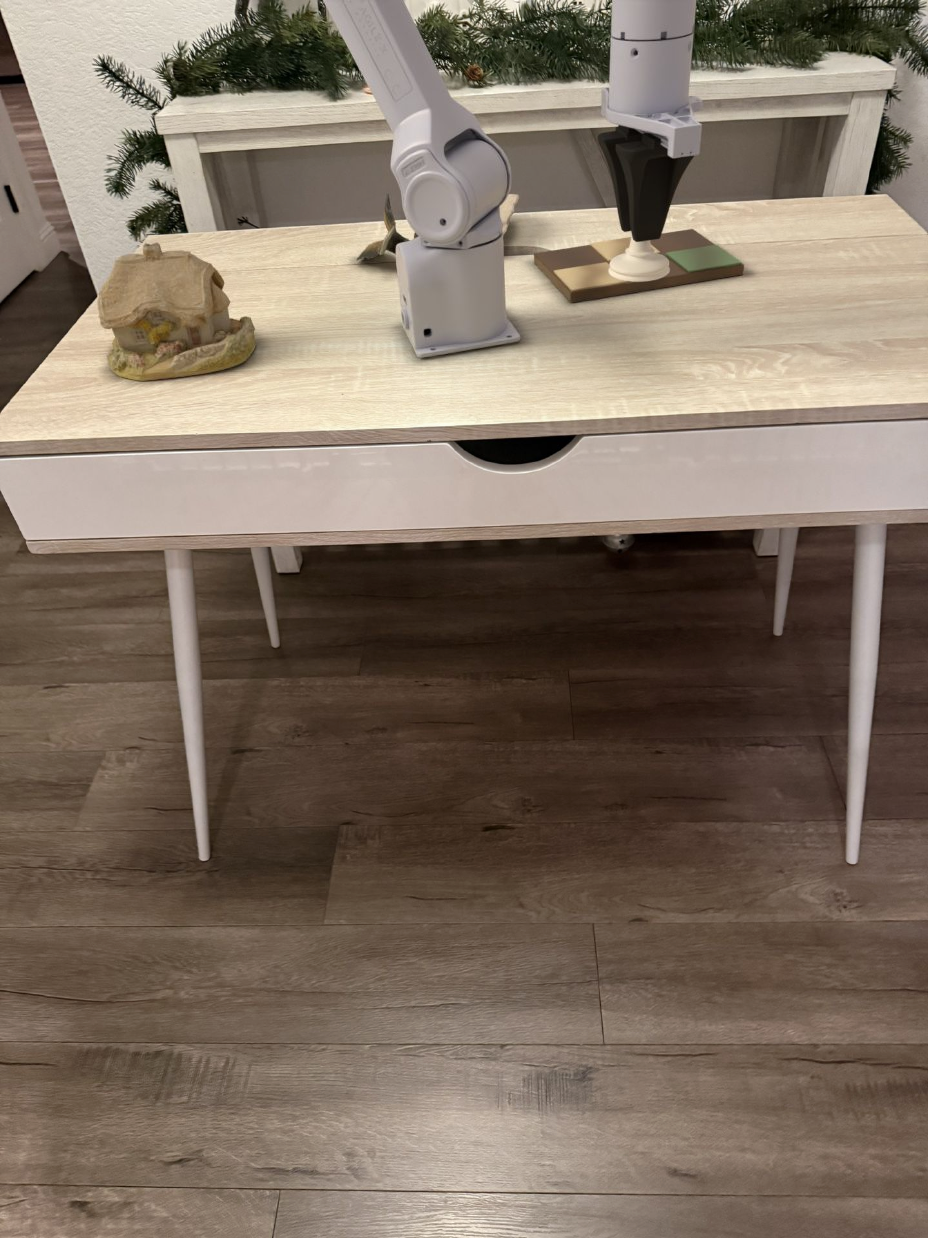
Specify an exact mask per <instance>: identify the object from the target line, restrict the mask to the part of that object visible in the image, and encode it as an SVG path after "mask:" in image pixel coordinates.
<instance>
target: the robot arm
mask: <svg viewBox="0 0 928 1238" xmlns="http://www.w3.org/2000/svg"><path fill="white" fill-rule="evenodd" d="M322 1H323V3H324V5H325V7H326V9H327V11H328V13H329V15H330V17H331V18H332V20H333V22H334V25H335V26H336V27H337V30H338V32H339V33H340V36H341V38H342V39H343V41H344V43H345V45H346V46H347V49H348V51H349V53H350V54H351V56H352V58H353V60H354V62H355V65H356V66H357V67H358V69H359V71H360V73H361V75H362V77H363V79H364V81H365V83H366V84H367V86H368V89H369V90H370V92H371V94H372V96H373V98H374V100H375V102H376V104H377V106H378V108H379V109H380V112H381V113H382V115H383V117H384V119H385V121H386V123H387V124H388V126H389V129H390V130H391V132H392V135H393V138H392V139H393V141H392V149H391V157H390V171H391V172H392V174H393V176H394V178H395V180H396V182H397V184H398V187H399V190H400V196H401V205H402V210H403V214H404V216H405V219H406V221H407V223H408V225H409V227H410V228H411V229H412V231H413V232H414V233H416V234H417V235H418V237H417V238H415V239H414V238H412V239H409V240H410V241H407V242H402V243H399V244H397V245H396V255H395V265H396V275H397V284H398V291H399V292H398V293H399V300H400V315H401V325H402V326H401V327H402V328H403V330H404V333H405V335H406V336H407V338H408V340H409V343H410V345H411V347H412V349H413V351H414V352H415V354H416V357H417V358H430V357H434V356H441V355H446V354H452V353H459V352H464V351H465V352H466V351H470V350H475V349H481V348H489V347H494V346H495V347H496V346H500V345H506V344H511V343H517V342H518V343H519V341H521V335H520V333H519V332H518V330H517V329H516V327H514V325H513V324H512V322H511V321H510V320H509V318H508V317H507V303H506V302H507V301H506V300H507V299H506V277H505V250H504V236H503V224H502V220H501V218H500V206H501V205H502V204H503V203H504V201H505V200H506V198H507V197H508V194H510V191H511V189H512V184H513V183H512V182H513V173H512V167H511V164H510V160H509V158H508V156H507V154H506V153H505V152H504V150H503V148H501V146H500V145H499V144H498V143H496V142H495V141H494V140H493V139H492V138H491V137H489V136H488V135H487V134H486V133H485V131H484V130H483V128H482V127H481V125H480V123H479V121H478V119H477V117H476V115H475V114H474V113H473V112H471V111H470V110H469V109H468V108H466V107H464V106H463V105H462V104H460V103H459V102H458V101H456V100H455V99H454V98H453V97H452V96H451V94H450V92H449V90H448V88H447V86H446V84H445V81H444V80H443V78H442V76H441V74H440V71H439V70H438V68H437V66H436V64H435V61H434V60H433V58H432V55H431V54H430V51H429V50H428V47H427V45H426V43H425V41H424V39H423V37H422V35H421V33H420V31H419V29H418V27H417V25H416V22H415V21H414V19H413V17H412V15H411V13H410V11H409V9H408V6H407V4H406V3H405V1H404V0H322ZM696 8H697V0H611V21H610V22H611V24H610V25H611V27H610V47H609V49H610V50H609V54H610V55H609V79H608V80H609V83H608V86H607V87H602V88H601V97H600V101H601V102H600V116H603V117H604V118H605V119H606V121H607V122H609V123H611V124H614V125H616V127H615V129H614V130H612V131H605V132H604V131H603V132H601V133H599V134H598V135H597V144H598V145H599V148H600V149H601V152H602V153H603V156H604V159H605V161H606V164H607V167H608V169H609V173H610V178H611V181H612V182H611V183H612V186H613V192H614V198H615V204H616V211H617V216H618V221H619V225H620V229H621V232H623V233H628V232H631V233H630V234H631V236H632V237H633V240H634V241H635V242H642V241H648V240H655V239H660V237H661V234H662V233H663V231H664V228H665V225H666V221H667V218H668V214H669V212H670V208H671V205H672V202H673V199H674V196H675V193H676V190H677V189H678V186H679V183H680V181H681V179H682V177H683V175H684V173H685V172H686V170H687V168H688V166H689V165H690V163H691V162H692V161H693V159H694V158H695V156H699V155H700V151H701V143H702V142H701V141H702V130H703V124H702V123H700V122H699V121H697V120H696V118H695V114H694V113H696V112H697V113H698V112H701V111H702V110H703V104H704V100H703V99H702V98H700V97H697V96H694V95H690V93H689V92H690V82H691V71H692V58H693V57H692V56H693V48H694V47H693V45H694V35H695V34H694V31H695V22H696V21H695V19H696V10H697V9H696Z"/></svg>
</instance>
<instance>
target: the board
mask: <svg viewBox="0 0 928 1238" xmlns="http://www.w3.org/2000/svg"><path fill="white" fill-rule="evenodd" d="M630 242H631V236H627V237H621V238H613V239H608V240H602V241H595V242H590V243H589V244H586V245H585V244H584V245H579V246H573V247H565V248H560V249H553V250H547V251H540V252H535V253H533V263H534V264H535V266H537V268H538V269H539V270H540V271H541V272H542V273H543V274H544V276H546V277H547V279H548V280H549V281H550V282H551V283H552V284H553V285H554V286H555V287H556V289H557V290H558V291H559V292H560V293H561V294H562V295H563V296H564V297H565V298H566V299H567V300H568V302H569V303H578V302H579V303H580V302H585V301H591V300H597V299H602V298H608V297H614V296H620V295H628V294H633V293H638V292H646V291H651V290H657V289H663V288H669V287H675V286H683V285H688V284H693V283H700V282H706V281H713V280H718V279H724V278H730V277H731V278H732V277H736V276H742V275H744V270H745V264H744V263H743V262H742V261H741V260H739V259H738V258H736V257H735V256H734V255H732V254H731V253H730V252H728V251H727V250H725V249H724V248H722V247H721V246H719V245H718V244H715V243H714V242H712V241H711V240H709V239H708V238H707V237H705V236H704V235H702V234H701V233H699V232H698V231H697V230H695V229H693V228H688V229H682V230H675V231H670V232H662V234H661V237H660V239H655V240H650V243H651V247H652V248H654V250H655V251H654V252H655V253H658V254H661V255H663V256H665V257H666V258H667V259H668V260H669V268H670V271H669V273H668V274H667V275H666V276H664V277H662V278H660V279H656V280H652V281H644V282H631V281H624V280H619V279H616V278H614V277H612V276H611V275H610V274H609V272H608V270H609V268H610V265H609V264H610V261H611V260H612V259H613V258H614V257H616V256H618V255H620V254H623V253H626V252H625V250H626V249H627V248H629V246H630Z"/></svg>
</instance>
